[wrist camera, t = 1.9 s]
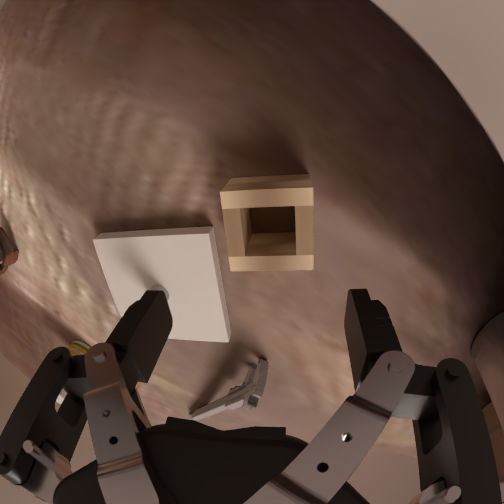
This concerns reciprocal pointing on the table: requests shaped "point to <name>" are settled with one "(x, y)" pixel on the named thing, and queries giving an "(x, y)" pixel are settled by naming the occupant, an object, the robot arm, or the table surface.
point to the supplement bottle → (74, 349)
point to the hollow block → (268, 244)
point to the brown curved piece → (6, 252)
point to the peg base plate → (169, 276)
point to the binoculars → (495, 438)
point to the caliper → (239, 393)
